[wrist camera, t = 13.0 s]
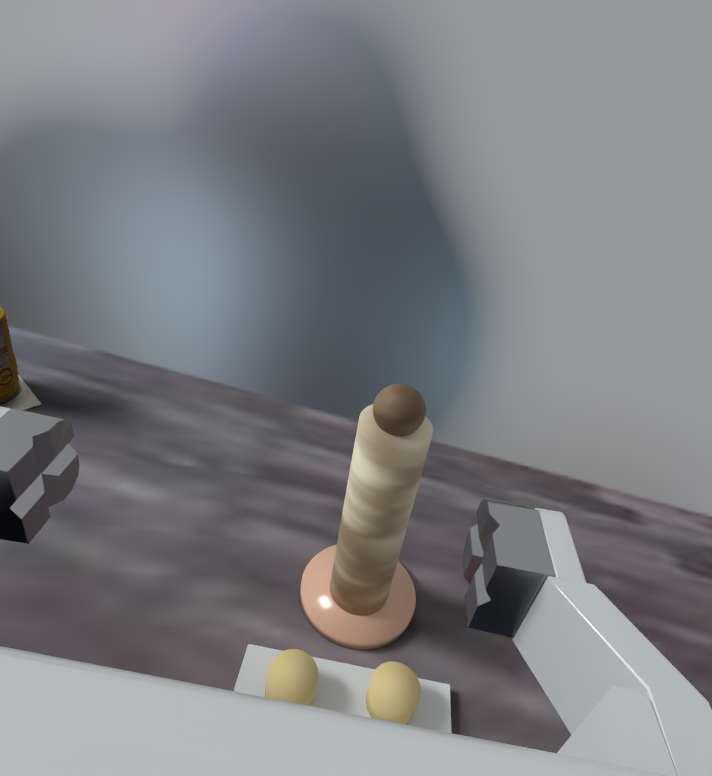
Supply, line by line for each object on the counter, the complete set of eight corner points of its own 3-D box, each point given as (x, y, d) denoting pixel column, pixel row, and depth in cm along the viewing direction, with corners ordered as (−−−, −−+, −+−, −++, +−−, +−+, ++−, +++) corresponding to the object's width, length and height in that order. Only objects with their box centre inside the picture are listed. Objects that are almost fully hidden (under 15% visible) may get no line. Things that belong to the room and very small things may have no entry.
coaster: (288, 636, 37) (289, 629, 37) (311, 540, 45) (312, 533, 45) (412, 661, 37) (414, 654, 37) (414, 560, 45) (416, 554, 44)
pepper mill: (324, 608, 39) (361, 401, 29) (334, 559, 43) (369, 362, 33) (385, 621, 39) (443, 417, 29) (390, 570, 43) (441, 375, 33)
